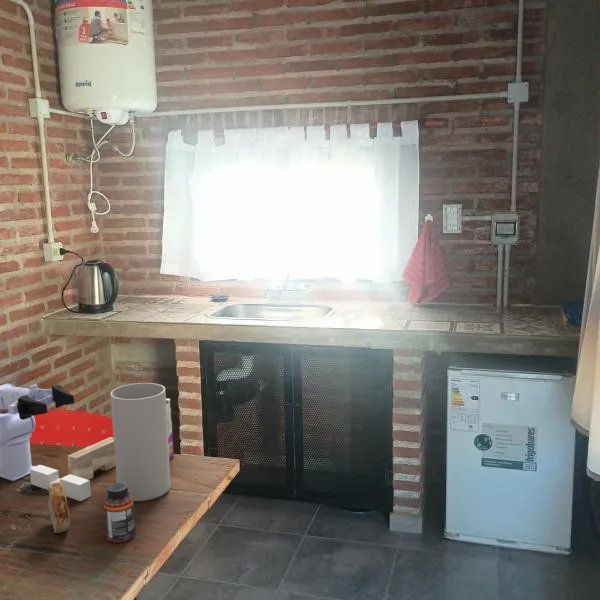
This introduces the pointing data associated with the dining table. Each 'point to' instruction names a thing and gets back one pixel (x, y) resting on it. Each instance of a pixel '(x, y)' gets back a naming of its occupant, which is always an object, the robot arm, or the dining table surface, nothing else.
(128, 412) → the cylinder vase
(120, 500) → the supplement bottle
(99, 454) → the light wood plank
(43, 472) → the white building blocks
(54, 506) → the toasted sandwich
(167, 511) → the dining table surface
